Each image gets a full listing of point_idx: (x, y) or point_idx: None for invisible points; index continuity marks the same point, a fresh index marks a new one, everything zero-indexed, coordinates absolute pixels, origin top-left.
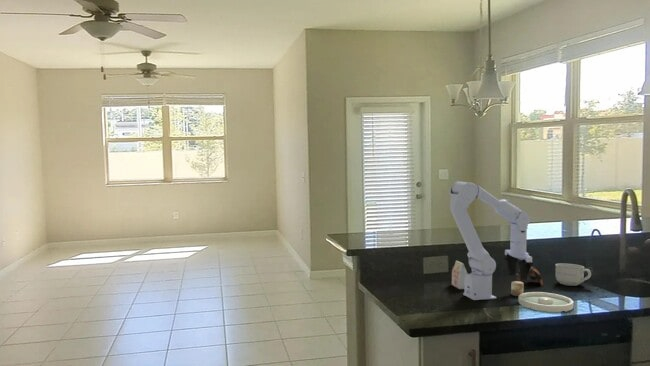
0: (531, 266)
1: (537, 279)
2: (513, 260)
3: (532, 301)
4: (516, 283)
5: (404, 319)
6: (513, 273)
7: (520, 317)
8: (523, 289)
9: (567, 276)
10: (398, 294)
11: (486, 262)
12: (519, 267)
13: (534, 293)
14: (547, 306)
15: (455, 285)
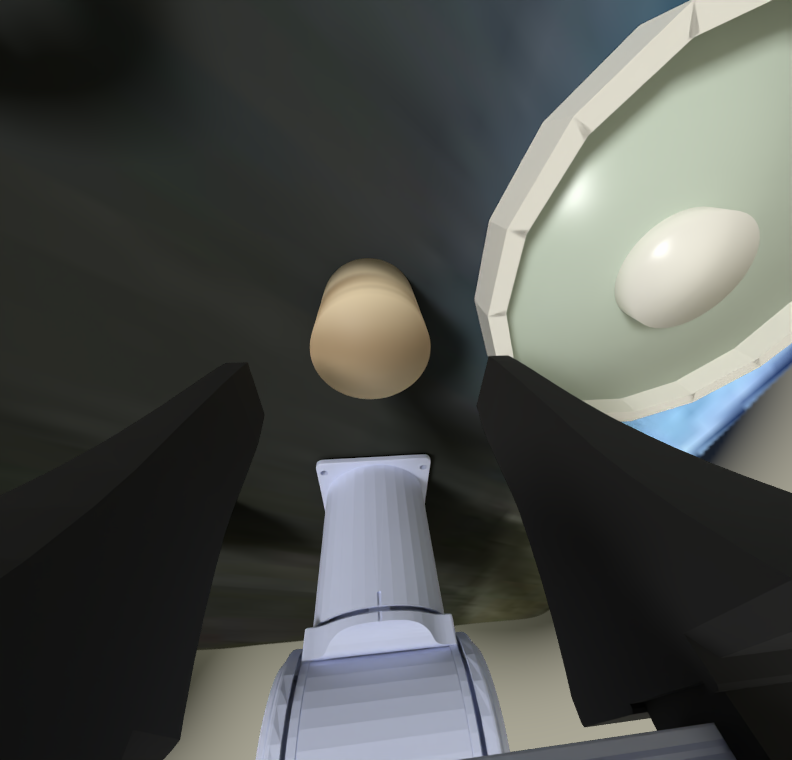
0: (750, 484)
1: None
2: (118, 614)
3: (598, 344)
4: (395, 374)
5: (492, 621)
6: (245, 391)
7: None
8: (404, 285)
9: None
10: (300, 620)
11: None
12: (546, 568)
13: (520, 244)
14: (759, 361)
15: None
